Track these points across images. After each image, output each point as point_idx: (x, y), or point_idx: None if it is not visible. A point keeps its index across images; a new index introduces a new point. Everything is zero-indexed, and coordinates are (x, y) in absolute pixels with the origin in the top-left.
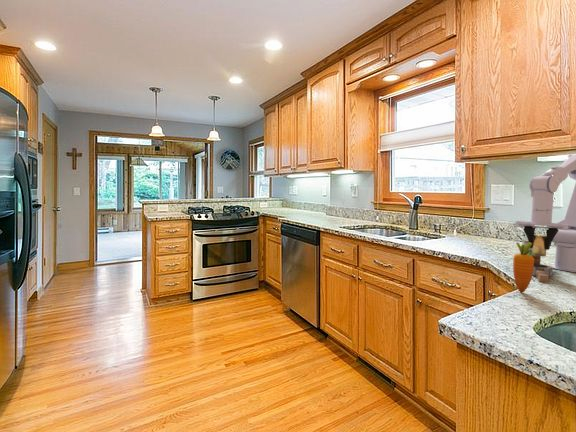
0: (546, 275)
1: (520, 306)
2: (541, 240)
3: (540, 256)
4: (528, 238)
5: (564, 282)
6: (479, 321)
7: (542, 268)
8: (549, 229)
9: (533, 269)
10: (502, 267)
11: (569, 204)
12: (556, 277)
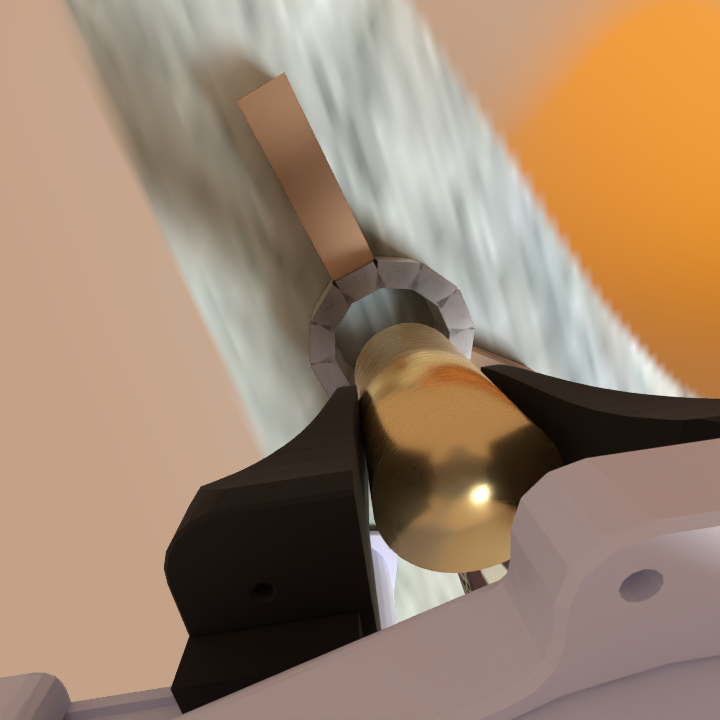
0: (251, 109)
1: None
2: (408, 394)
3: (459, 575)
4: (581, 386)
5: (203, 237)
6: None
7: (340, 278)
8: (337, 614)
9: (389, 259)
10: (581, 331)
11: None
12: (287, 338)
